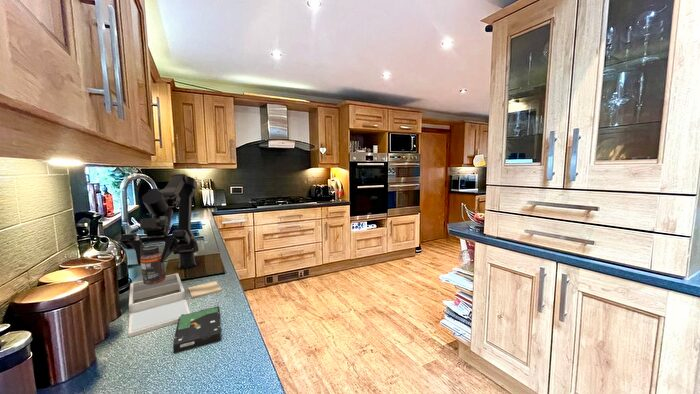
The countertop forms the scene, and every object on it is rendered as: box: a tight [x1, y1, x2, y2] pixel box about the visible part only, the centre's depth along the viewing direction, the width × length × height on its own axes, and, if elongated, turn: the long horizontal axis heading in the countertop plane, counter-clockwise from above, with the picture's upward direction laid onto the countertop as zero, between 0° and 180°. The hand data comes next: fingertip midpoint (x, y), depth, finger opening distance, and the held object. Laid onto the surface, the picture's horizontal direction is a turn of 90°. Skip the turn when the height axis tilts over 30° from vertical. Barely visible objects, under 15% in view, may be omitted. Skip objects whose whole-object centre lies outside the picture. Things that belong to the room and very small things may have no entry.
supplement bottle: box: [140, 245, 166, 285], centre depth 88 cm, size 6×6×11 cm
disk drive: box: [172, 306, 222, 354], centre depth 73 cm, size 10×3×15 cm
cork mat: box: [187, 280, 223, 299], centre depth 97 cm, size 9×9×1 cm
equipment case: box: [127, 272, 191, 338], centre depth 87 cm, size 32×14×4 cm, turn 37°
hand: (150, 263), depth 86 cm, fingers closed on supplement bottle, 6 cm apart
